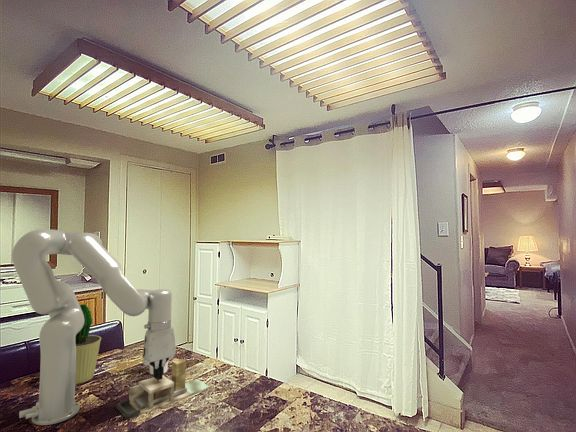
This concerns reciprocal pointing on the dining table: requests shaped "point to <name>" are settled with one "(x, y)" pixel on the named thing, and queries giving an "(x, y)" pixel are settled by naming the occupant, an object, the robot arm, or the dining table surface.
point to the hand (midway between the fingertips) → (158, 378)
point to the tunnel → (154, 385)
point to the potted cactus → (86, 349)
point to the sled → (161, 395)
